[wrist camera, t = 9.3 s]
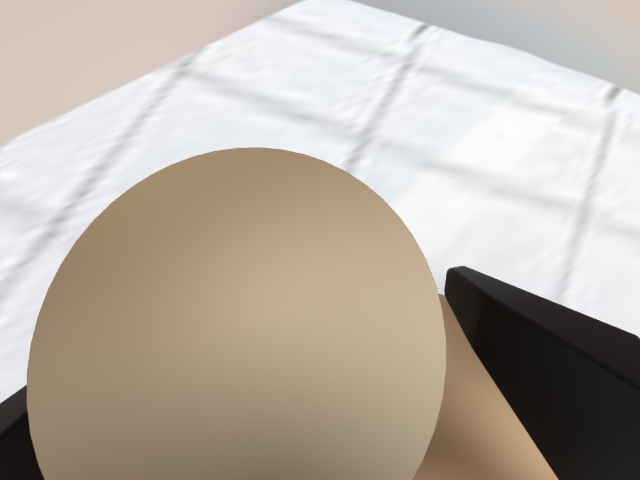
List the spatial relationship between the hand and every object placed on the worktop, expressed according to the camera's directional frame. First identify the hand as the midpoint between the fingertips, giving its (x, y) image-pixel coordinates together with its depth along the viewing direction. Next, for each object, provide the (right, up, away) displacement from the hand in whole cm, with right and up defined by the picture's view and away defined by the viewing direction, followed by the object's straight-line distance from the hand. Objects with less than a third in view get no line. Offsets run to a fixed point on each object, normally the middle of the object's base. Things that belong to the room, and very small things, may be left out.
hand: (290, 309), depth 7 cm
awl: (0, -2, +8) cm, 8 cm away
